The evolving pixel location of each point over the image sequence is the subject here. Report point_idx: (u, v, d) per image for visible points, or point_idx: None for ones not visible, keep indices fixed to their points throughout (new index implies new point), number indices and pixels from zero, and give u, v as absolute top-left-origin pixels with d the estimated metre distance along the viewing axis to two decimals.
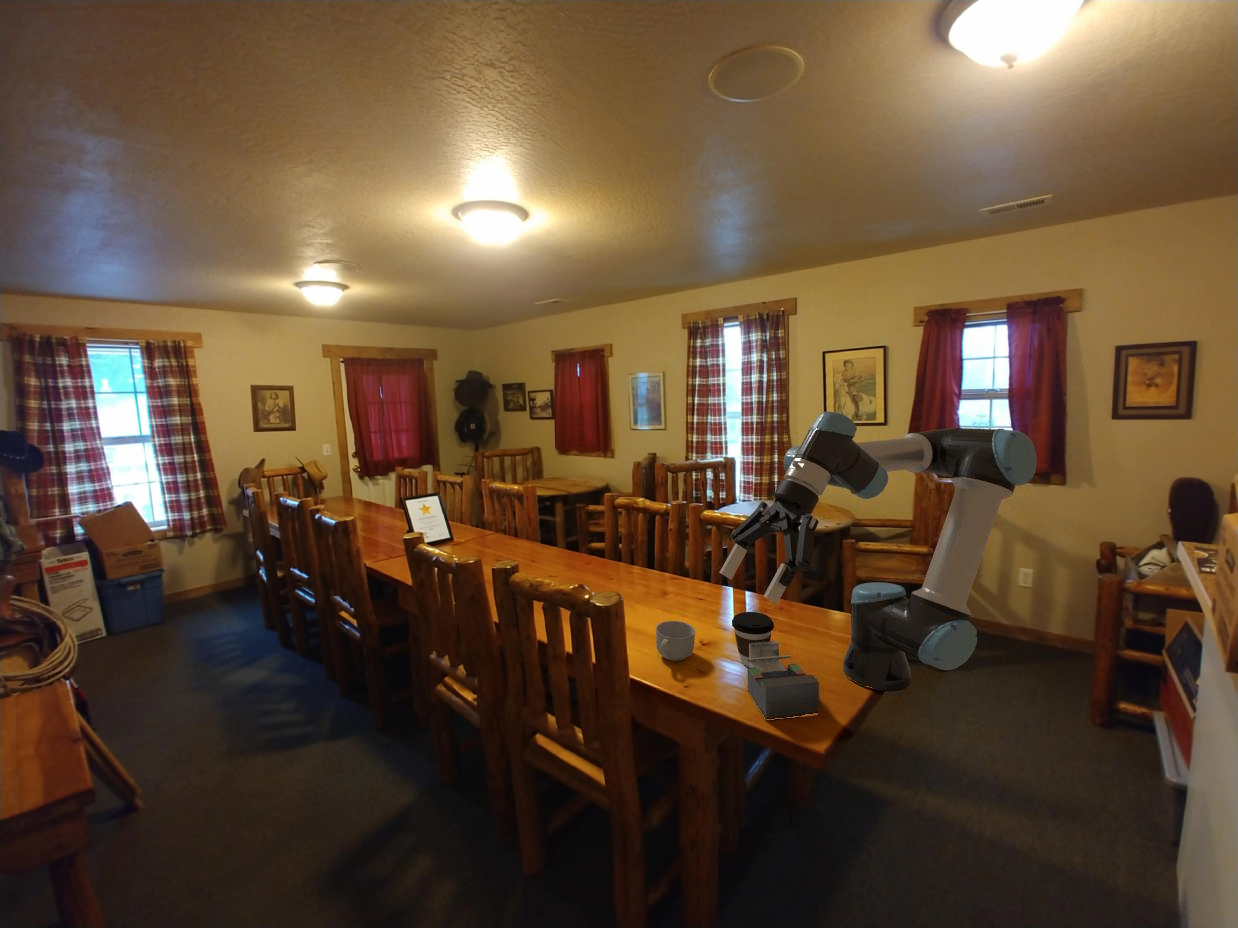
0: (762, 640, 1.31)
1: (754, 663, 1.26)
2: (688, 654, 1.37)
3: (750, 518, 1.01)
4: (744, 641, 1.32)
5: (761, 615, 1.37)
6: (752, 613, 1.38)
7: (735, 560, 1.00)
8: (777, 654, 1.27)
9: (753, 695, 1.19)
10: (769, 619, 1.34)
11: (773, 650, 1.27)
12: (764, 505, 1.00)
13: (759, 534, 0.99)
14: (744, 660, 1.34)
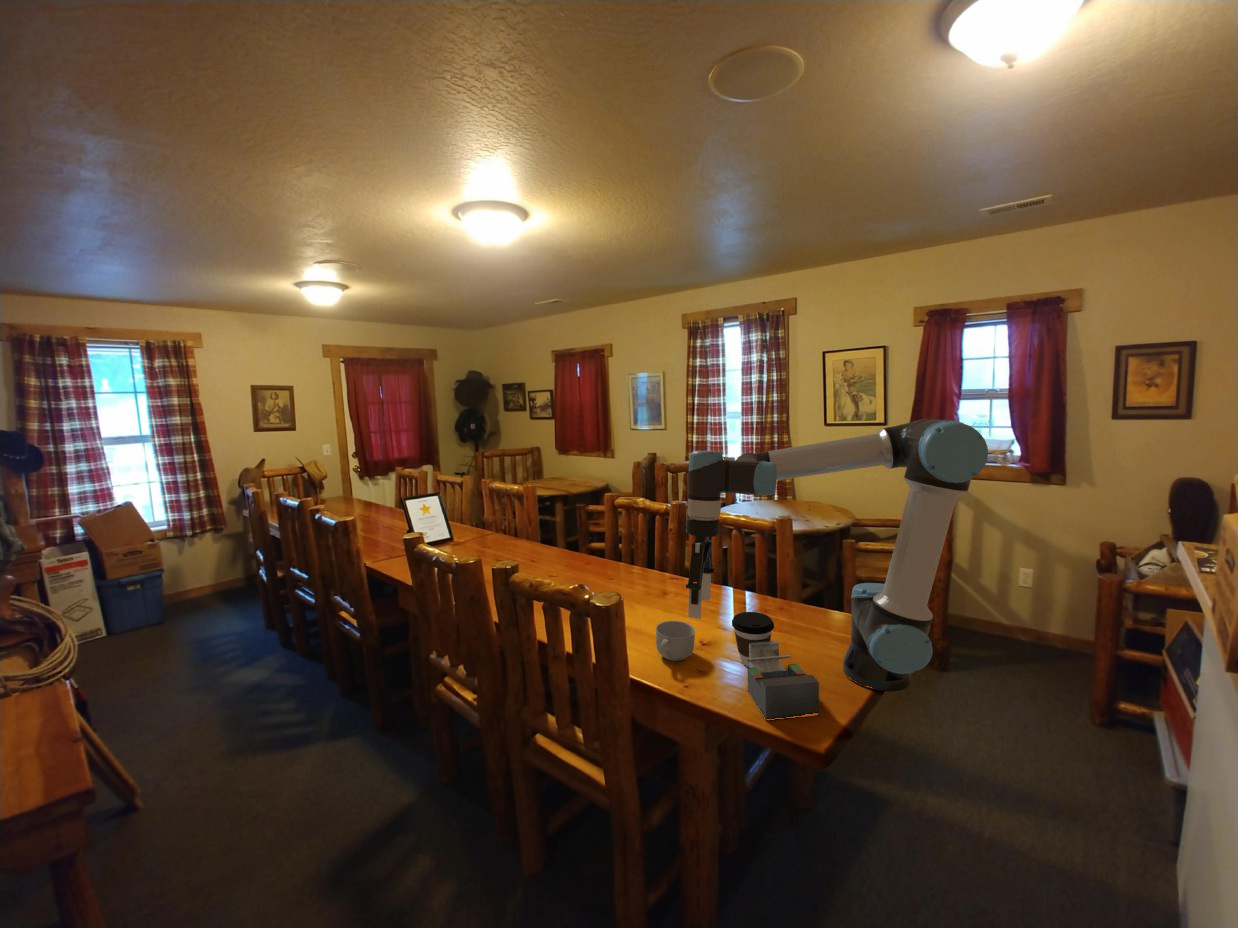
0: (762, 640, 1.31)
1: (754, 663, 1.26)
2: (688, 654, 1.37)
3: None
4: (744, 641, 1.32)
5: (761, 615, 1.37)
6: (752, 613, 1.38)
7: (704, 585, 1.25)
8: (777, 654, 1.27)
9: (753, 695, 1.19)
10: (769, 619, 1.34)
11: (773, 650, 1.27)
12: None
13: None
14: (744, 660, 1.34)
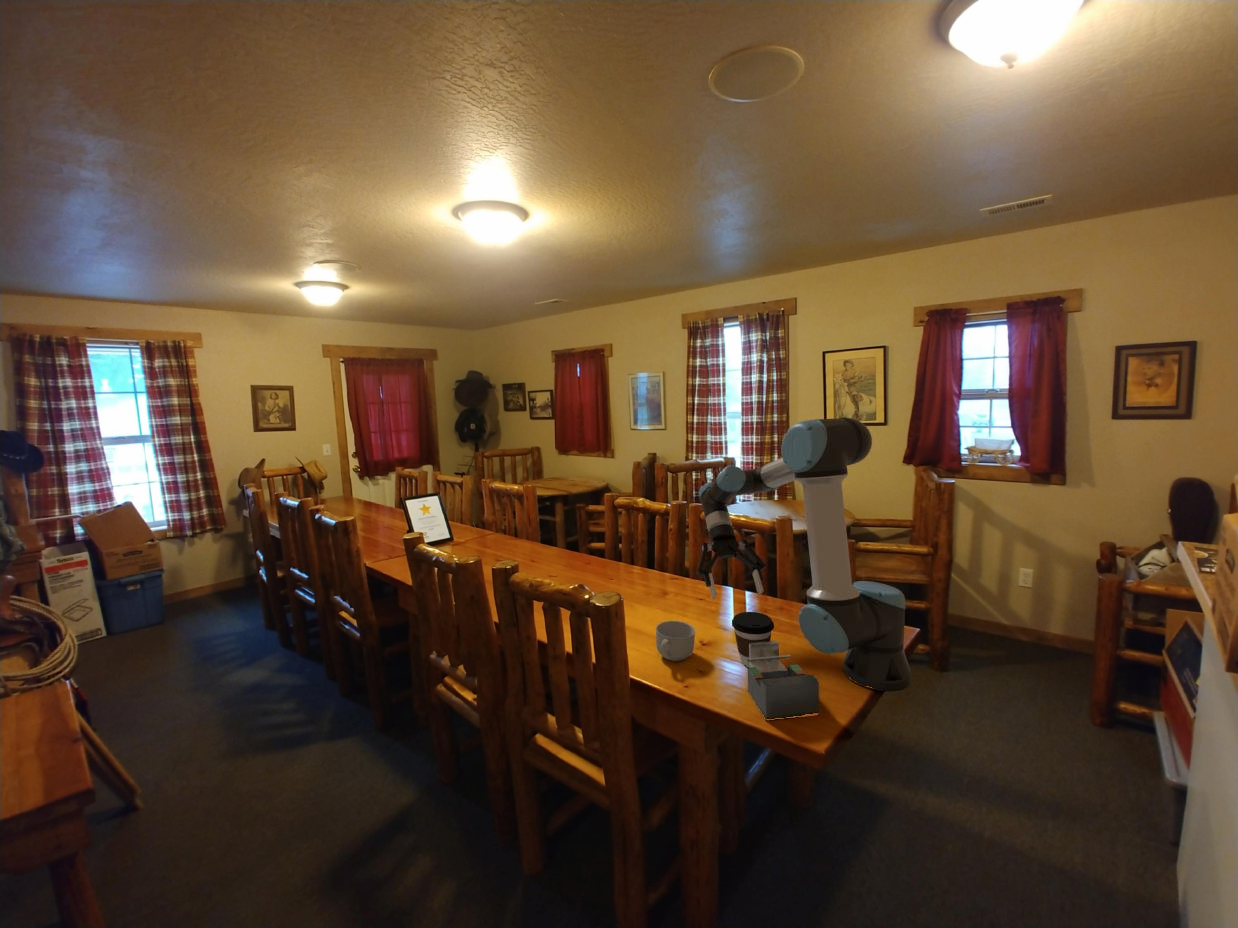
0: (762, 640, 1.31)
1: (754, 663, 1.26)
2: (688, 654, 1.37)
3: None
4: (744, 641, 1.32)
5: (761, 615, 1.37)
6: (752, 613, 1.38)
7: (756, 580, 1.47)
8: (777, 654, 1.27)
9: (753, 695, 1.19)
10: (769, 619, 1.34)
11: (773, 650, 1.27)
12: None
13: (743, 560, 1.51)
14: (744, 660, 1.34)
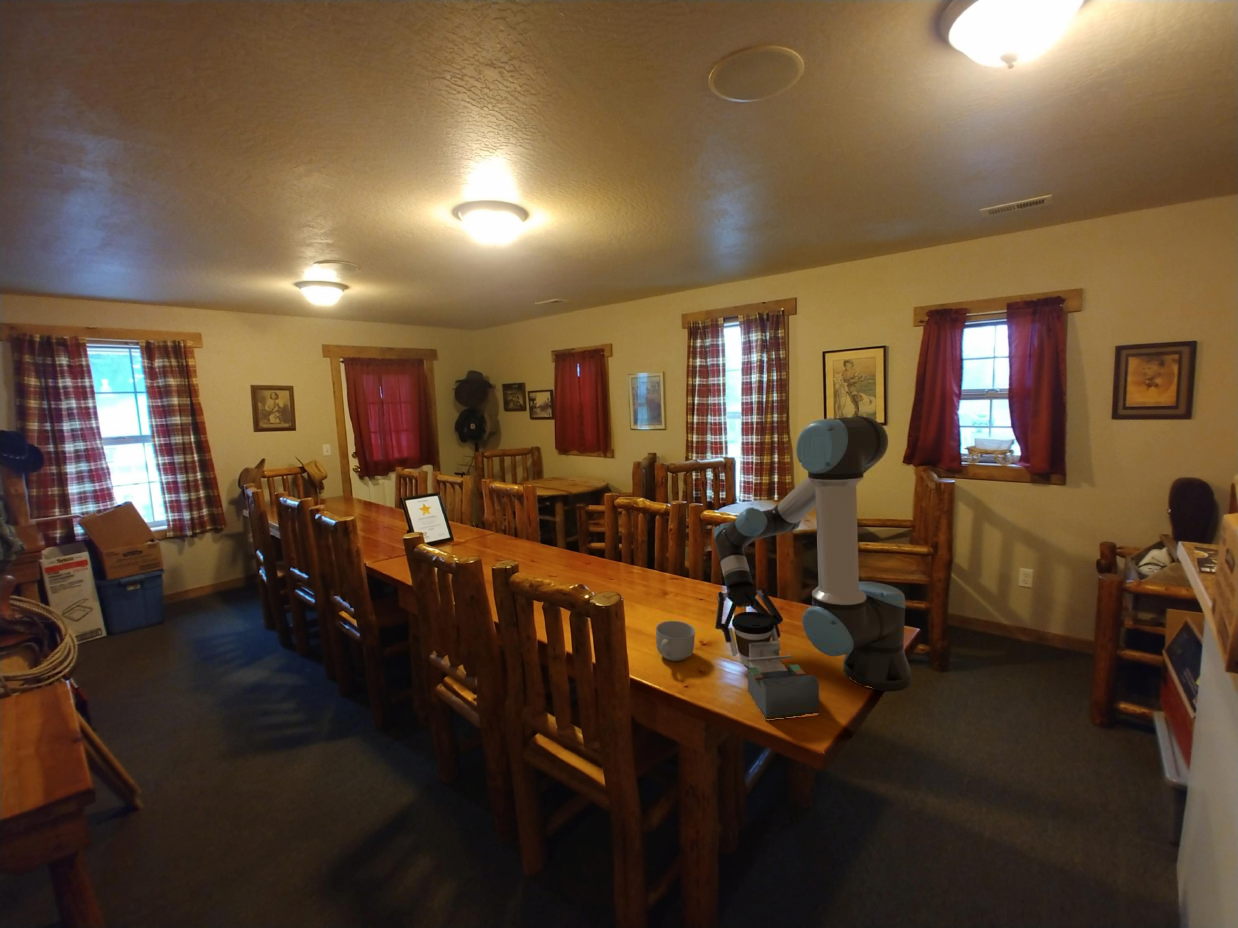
0: (762, 640, 1.31)
1: (754, 663, 1.26)
2: (688, 654, 1.37)
3: None
4: (744, 641, 1.32)
5: (761, 615, 1.37)
6: (752, 613, 1.38)
7: (772, 636, 1.36)
8: (777, 654, 1.27)
9: (753, 695, 1.19)
10: (769, 619, 1.34)
11: (773, 650, 1.27)
12: None
13: (760, 611, 1.40)
14: (744, 660, 1.34)
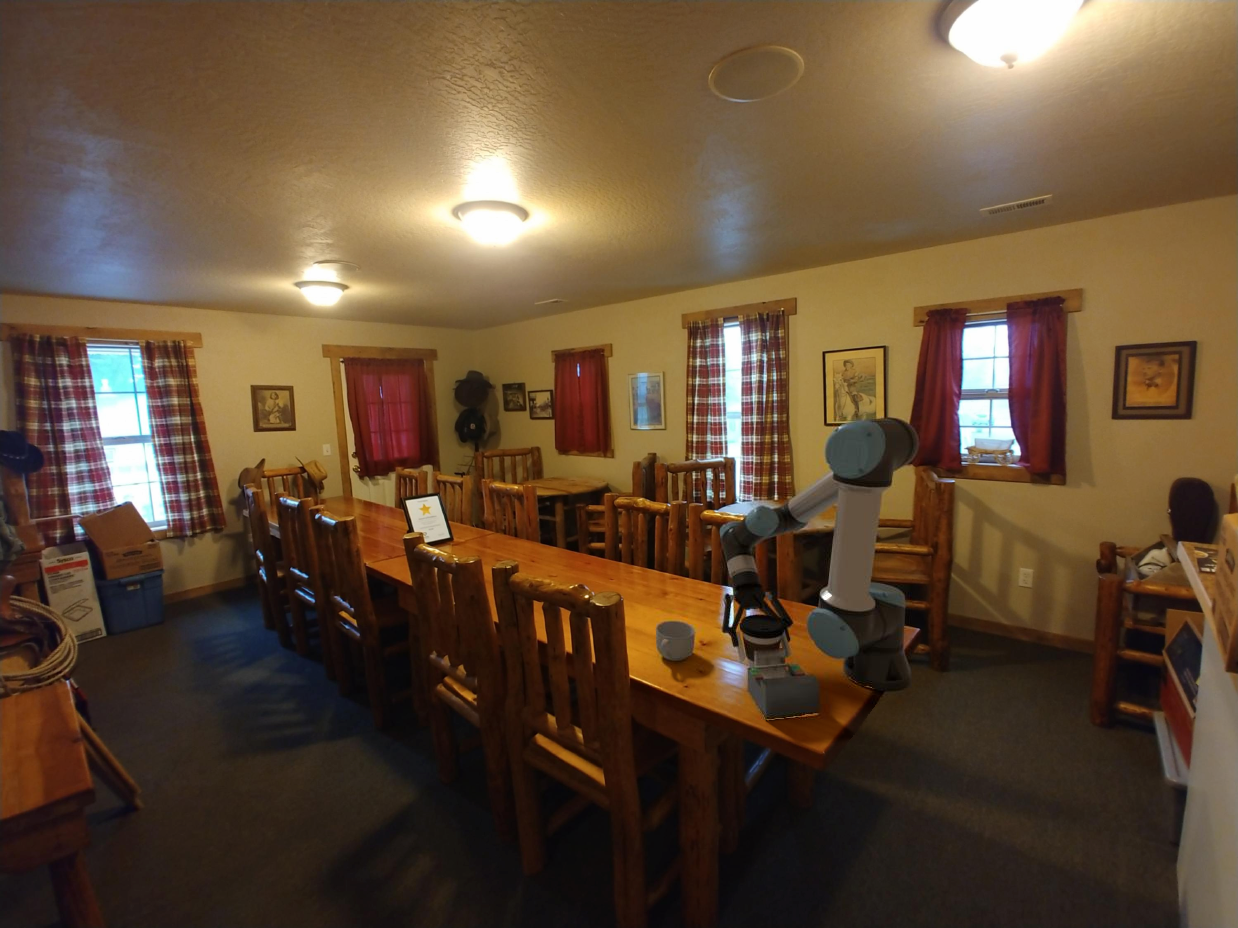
0: (772, 645, 1.24)
1: (760, 671, 1.23)
2: (688, 654, 1.37)
3: None
4: (753, 646, 1.25)
5: (770, 618, 1.30)
6: (761, 616, 1.32)
7: (782, 641, 1.29)
8: (783, 662, 1.24)
9: (753, 695, 1.19)
10: (779, 622, 1.28)
11: (779, 657, 1.23)
12: None
13: (768, 614, 1.33)
14: (752, 665, 1.27)
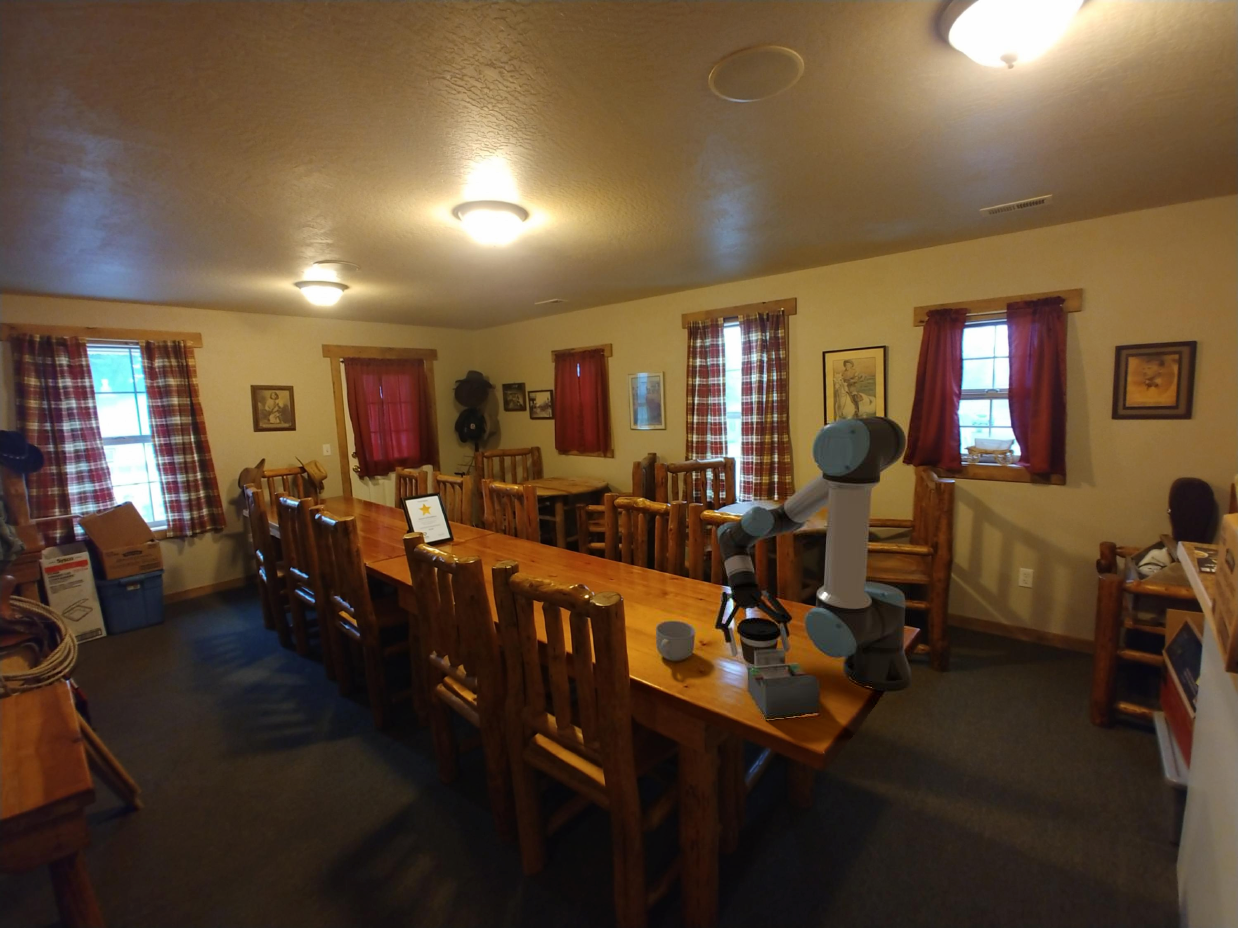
0: (768, 647, 1.27)
1: (760, 671, 1.23)
2: (688, 654, 1.37)
3: None
4: (750, 648, 1.28)
5: (767, 621, 1.33)
6: (758, 619, 1.35)
7: (781, 636, 1.32)
8: (783, 662, 1.24)
9: (753, 695, 1.19)
10: (775, 625, 1.30)
11: (779, 657, 1.23)
12: None
13: (767, 611, 1.36)
14: None
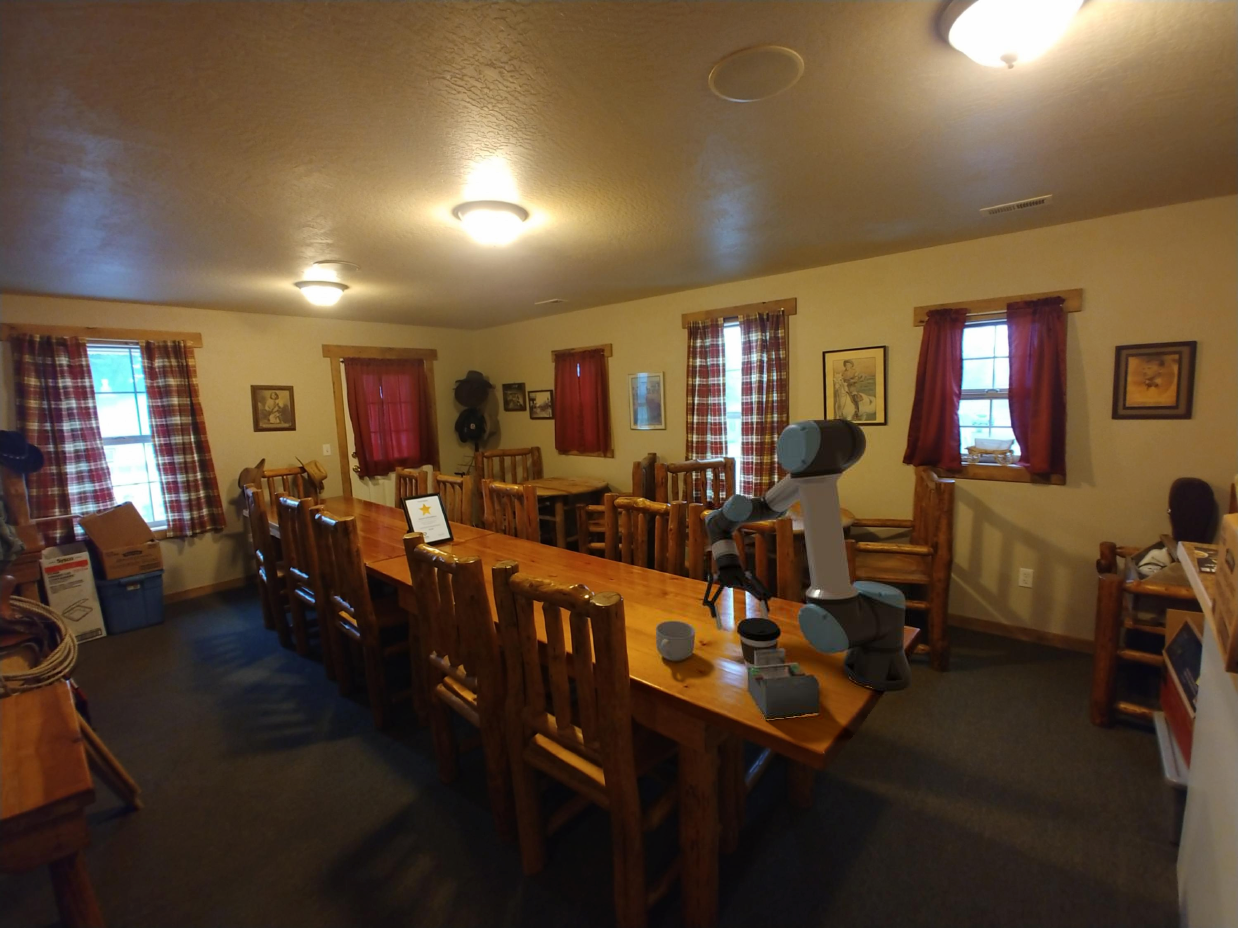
0: (768, 647, 1.27)
1: (760, 671, 1.23)
2: (688, 654, 1.37)
3: None
4: (750, 649, 1.28)
5: (767, 621, 1.33)
6: (758, 619, 1.34)
7: (762, 612, 1.45)
8: (783, 662, 1.24)
9: (753, 695, 1.19)
10: (775, 625, 1.30)
11: (779, 657, 1.23)
12: None
13: (750, 590, 1.49)
14: None
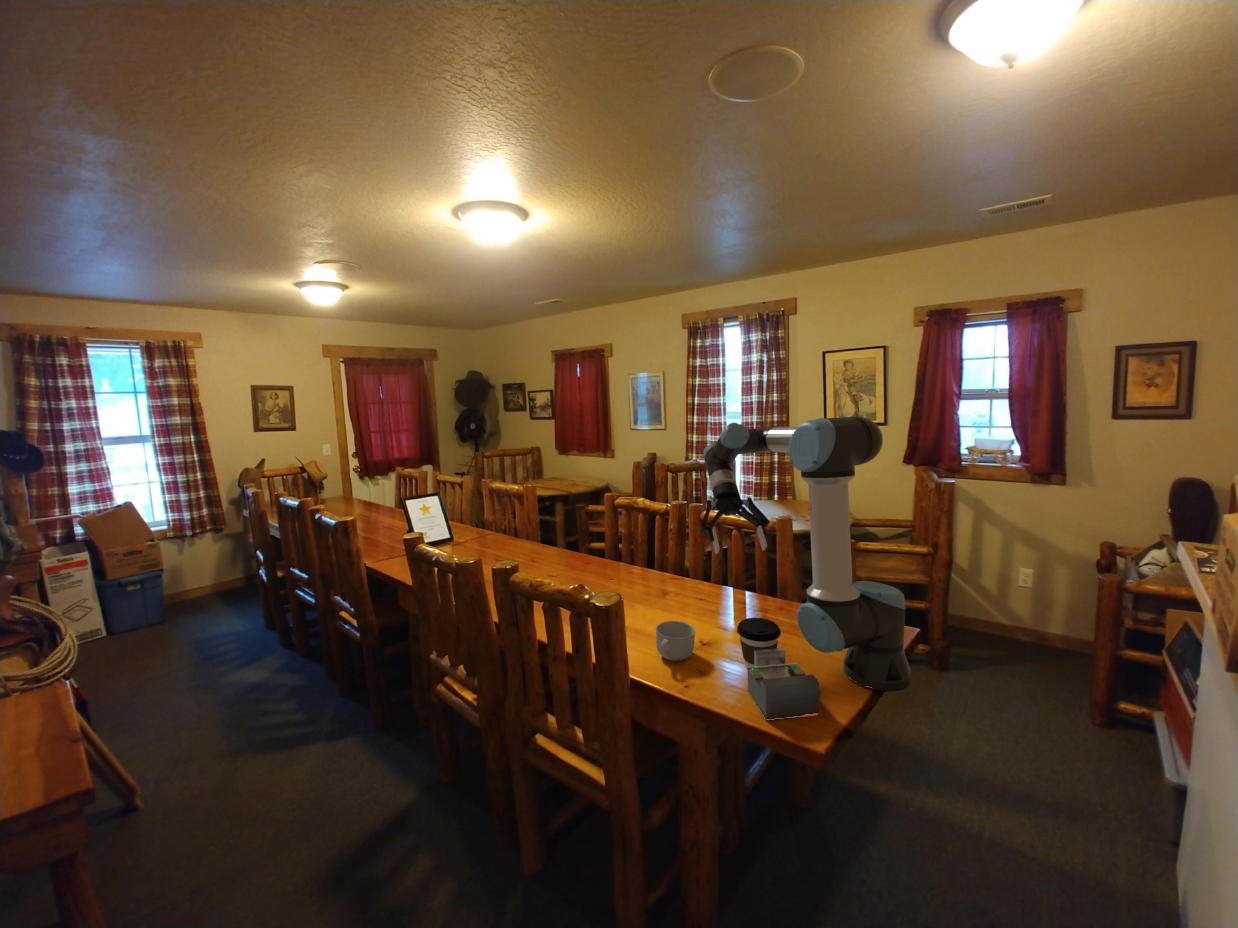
0: (768, 647, 1.27)
1: (760, 671, 1.23)
2: (688, 654, 1.37)
3: None
4: (750, 649, 1.28)
5: (767, 621, 1.33)
6: (758, 619, 1.34)
7: (760, 536, 1.46)
8: (783, 662, 1.24)
9: (753, 695, 1.19)
10: (775, 625, 1.30)
11: (779, 657, 1.23)
12: None
13: (747, 517, 1.50)
14: None
